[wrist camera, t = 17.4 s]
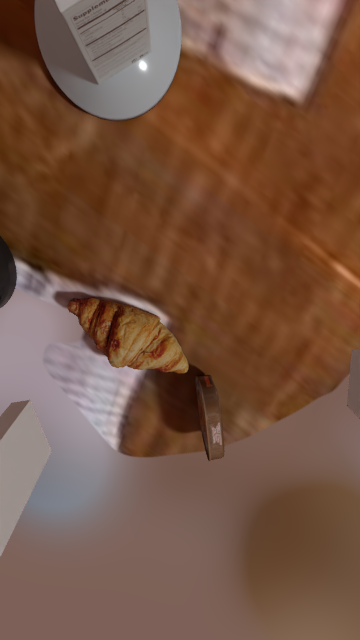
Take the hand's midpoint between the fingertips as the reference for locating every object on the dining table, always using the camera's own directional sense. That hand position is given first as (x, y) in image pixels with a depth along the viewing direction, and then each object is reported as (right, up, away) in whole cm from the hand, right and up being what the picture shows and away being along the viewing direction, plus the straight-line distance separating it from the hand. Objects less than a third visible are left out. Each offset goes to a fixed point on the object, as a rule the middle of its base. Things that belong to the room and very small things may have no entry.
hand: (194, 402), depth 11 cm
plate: (-8, +36, +20) cm, 42 cm away
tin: (+4, -11, +39) cm, 41 cm away
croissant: (-8, +1, +34) cm, 35 cm away
